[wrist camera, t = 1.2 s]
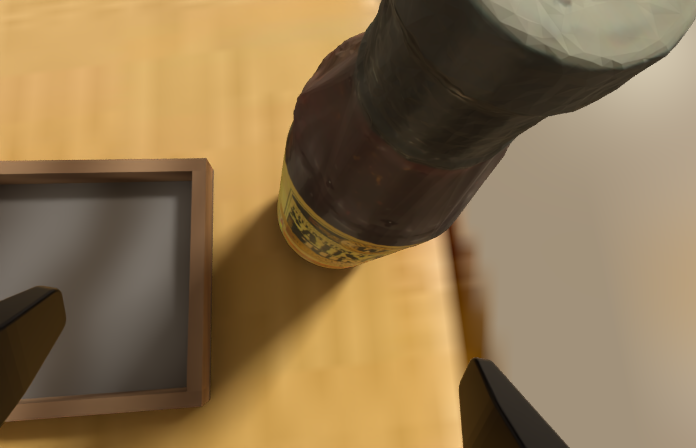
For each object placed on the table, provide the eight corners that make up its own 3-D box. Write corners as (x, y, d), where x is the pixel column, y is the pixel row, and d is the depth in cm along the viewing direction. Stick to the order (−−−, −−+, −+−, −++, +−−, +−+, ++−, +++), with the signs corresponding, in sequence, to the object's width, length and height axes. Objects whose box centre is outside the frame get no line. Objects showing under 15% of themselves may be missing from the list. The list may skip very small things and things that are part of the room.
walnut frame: (213, 170, 24) (206, 158, 22) (210, 399, 22) (201, 406, 20) (-21, 174, 23) (-50, 161, 21) (-56, 419, 20) (-93, 429, 18)
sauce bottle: (269, 262, 23) (206, 95, 4) (287, 156, 24) (304, -379, 5) (384, 278, 24) (800, 207, 5) (395, 174, 25) (766, -223, 6)
